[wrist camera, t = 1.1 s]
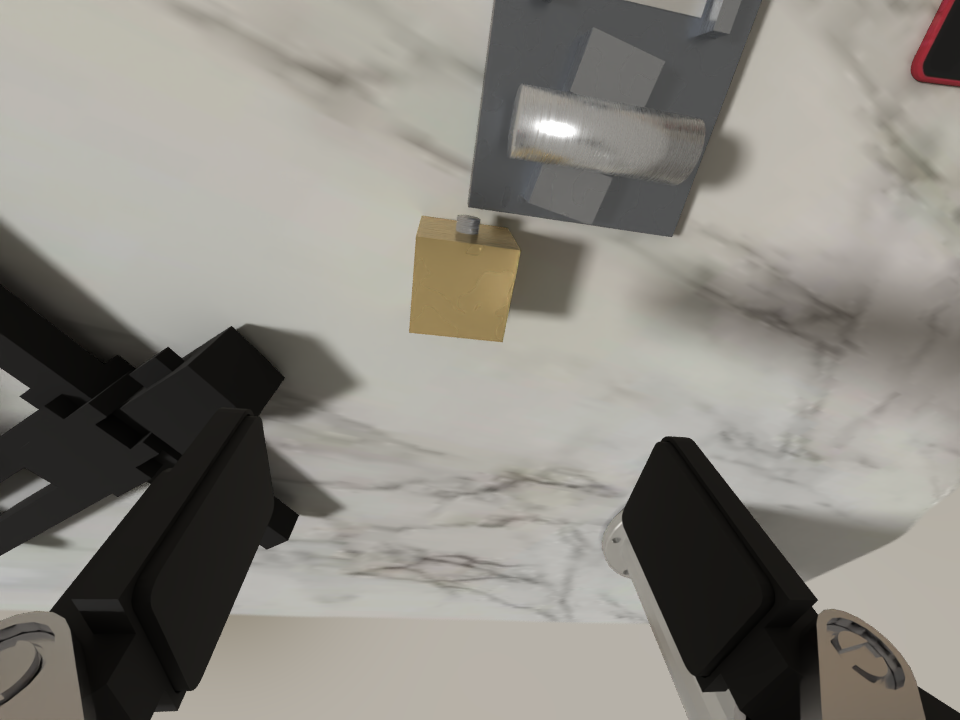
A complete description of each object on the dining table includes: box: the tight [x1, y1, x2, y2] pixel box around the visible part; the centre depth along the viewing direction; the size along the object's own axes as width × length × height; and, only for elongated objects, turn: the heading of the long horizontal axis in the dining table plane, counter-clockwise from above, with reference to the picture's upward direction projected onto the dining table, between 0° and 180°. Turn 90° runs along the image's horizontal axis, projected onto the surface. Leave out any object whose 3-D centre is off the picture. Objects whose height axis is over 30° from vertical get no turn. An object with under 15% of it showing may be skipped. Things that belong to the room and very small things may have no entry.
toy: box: [0, 284, 299, 556], centre depth 27 cm, size 28×6×30 cm
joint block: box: [409, 215, 521, 342], centre depth 22 cm, size 5×6×5 cm
